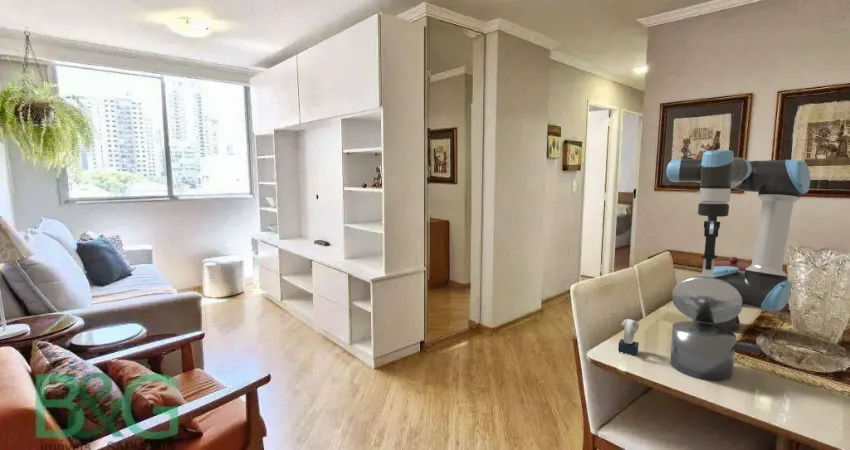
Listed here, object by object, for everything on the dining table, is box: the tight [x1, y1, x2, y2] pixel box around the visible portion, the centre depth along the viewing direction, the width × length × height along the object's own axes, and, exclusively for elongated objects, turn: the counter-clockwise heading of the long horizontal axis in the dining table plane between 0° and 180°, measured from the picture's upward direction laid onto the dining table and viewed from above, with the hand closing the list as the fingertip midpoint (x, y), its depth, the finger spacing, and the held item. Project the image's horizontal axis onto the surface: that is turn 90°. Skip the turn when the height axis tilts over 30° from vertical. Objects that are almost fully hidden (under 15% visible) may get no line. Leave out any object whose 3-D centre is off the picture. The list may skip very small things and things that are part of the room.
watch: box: [617, 318, 640, 357], centre depth 136 cm, size 6×8×11 cm
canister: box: [714, 256, 752, 273], centre depth 188 cm, size 18×18×21 cm
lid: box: [671, 275, 743, 323], centre depth 127 cm, size 18×18×3 cm
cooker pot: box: [669, 320, 761, 382], centre depth 123 cm, size 17×22×12 cm
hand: (707, 279), depth 124 cm, fingers closed
